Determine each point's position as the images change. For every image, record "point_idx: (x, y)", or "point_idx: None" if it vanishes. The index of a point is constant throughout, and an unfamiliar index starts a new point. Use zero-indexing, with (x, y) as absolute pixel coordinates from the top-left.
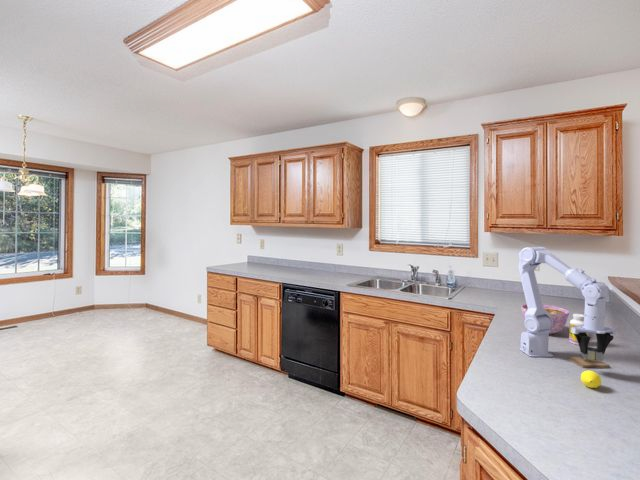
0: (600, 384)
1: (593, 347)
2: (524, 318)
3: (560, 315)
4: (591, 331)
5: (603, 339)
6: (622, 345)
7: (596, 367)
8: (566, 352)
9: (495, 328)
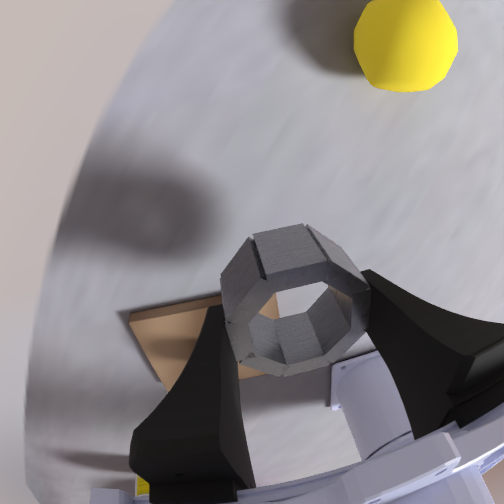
0: (369, 2)
1: (261, 370)
2: None
3: None
4: (486, 435)
5: (232, 422)
6: (47, 455)
7: (198, 301)
8: (242, 413)
9: None
